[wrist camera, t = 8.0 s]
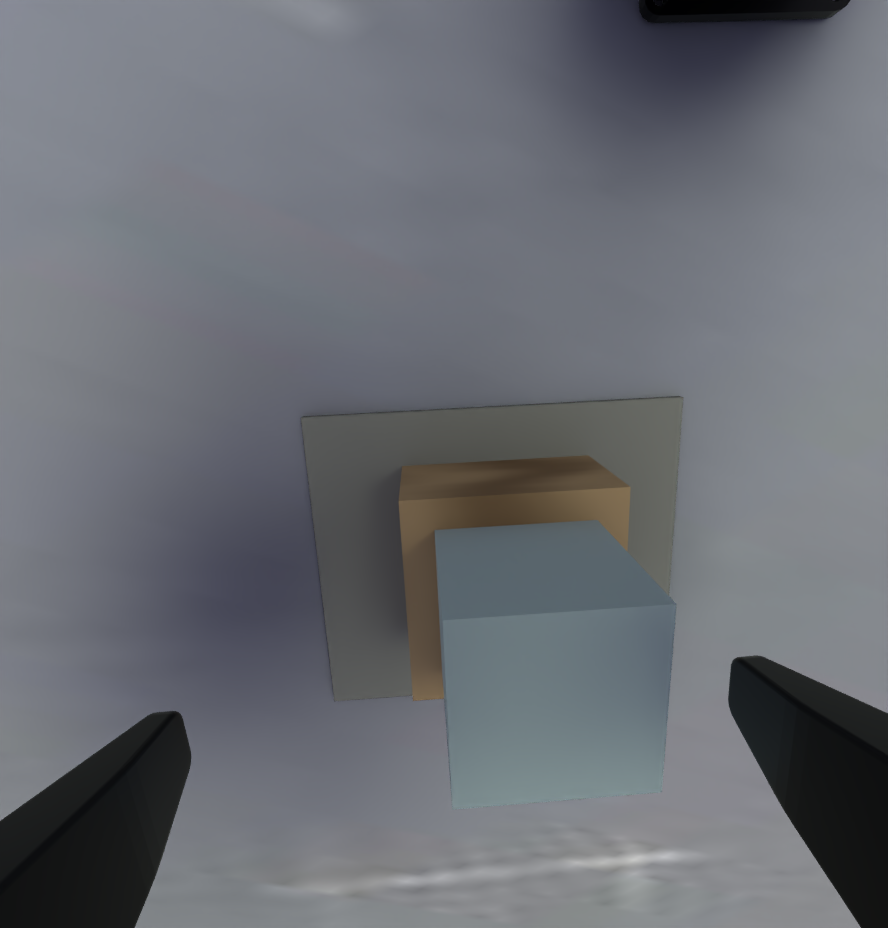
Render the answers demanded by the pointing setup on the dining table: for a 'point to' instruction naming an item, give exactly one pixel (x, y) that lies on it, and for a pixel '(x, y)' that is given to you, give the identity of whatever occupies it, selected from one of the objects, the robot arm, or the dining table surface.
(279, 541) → the dining table surface
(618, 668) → the slate block
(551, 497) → the tan square block
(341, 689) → the mat
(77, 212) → the dining table surface
